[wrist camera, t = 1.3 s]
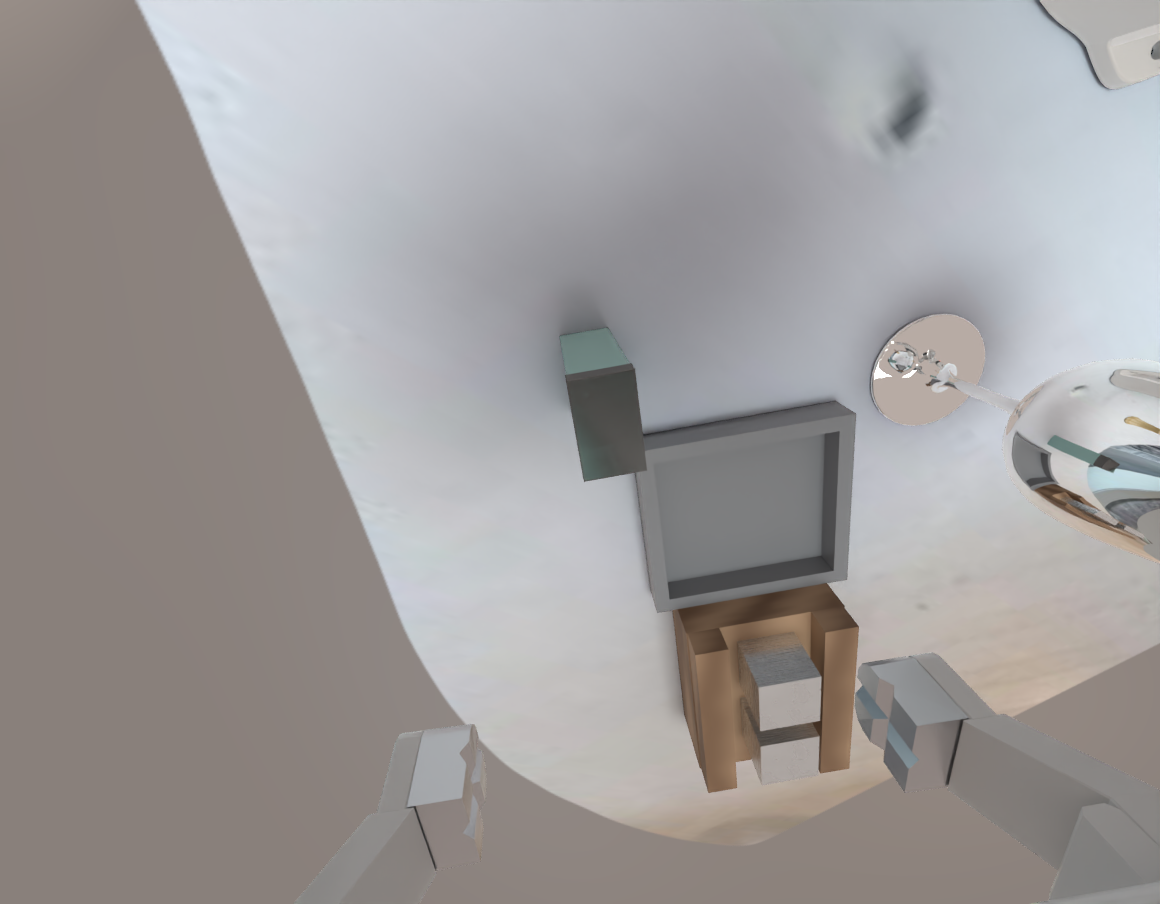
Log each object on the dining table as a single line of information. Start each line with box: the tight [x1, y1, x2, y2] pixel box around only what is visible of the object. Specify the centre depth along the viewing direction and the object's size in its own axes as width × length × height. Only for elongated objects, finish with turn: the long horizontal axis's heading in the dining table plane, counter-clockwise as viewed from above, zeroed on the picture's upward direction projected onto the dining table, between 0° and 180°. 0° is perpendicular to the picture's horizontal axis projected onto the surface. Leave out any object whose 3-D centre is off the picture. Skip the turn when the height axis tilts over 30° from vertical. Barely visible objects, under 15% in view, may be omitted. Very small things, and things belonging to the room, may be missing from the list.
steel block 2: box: [740, 697, 820, 785], centre depth 39 cm, size 4×4×4 cm
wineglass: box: [871, 314, 1160, 564], centre depth 26 cm, size 8×8×20 cm
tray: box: [635, 401, 856, 613], centre depth 38 cm, size 14×13×2 cm
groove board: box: [673, 583, 859, 793], centre depth 41 cm, size 11×14×7 cm
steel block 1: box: [737, 632, 821, 731], centre depth 36 cm, size 4×4×4 cm
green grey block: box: [560, 328, 647, 482], centre depth 29 cm, size 5×3×10 cm, turn 9°
